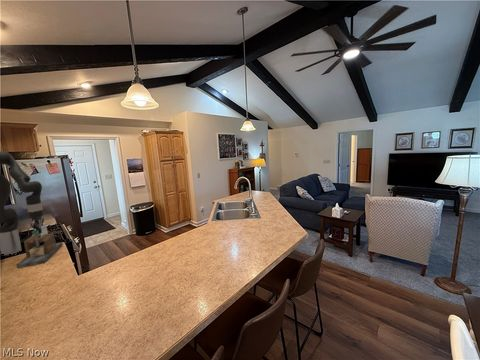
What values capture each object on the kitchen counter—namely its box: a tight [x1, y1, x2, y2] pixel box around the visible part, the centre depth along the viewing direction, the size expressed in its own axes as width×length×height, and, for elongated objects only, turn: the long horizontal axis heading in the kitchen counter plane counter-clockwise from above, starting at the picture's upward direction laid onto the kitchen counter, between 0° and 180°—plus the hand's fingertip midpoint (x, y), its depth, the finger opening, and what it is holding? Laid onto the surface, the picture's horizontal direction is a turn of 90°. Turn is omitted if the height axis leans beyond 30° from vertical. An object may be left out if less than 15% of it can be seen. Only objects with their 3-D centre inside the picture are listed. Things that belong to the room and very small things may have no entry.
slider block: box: [29, 229, 46, 257], centre depth 140 cm, size 7×6×17 cm
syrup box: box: [33, 222, 49, 243], centre depth 170 cm, size 6×6×14 cm
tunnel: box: [16, 232, 64, 269], centre depth 144 cm, size 14×28×14 cm, turn 22°
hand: (39, 233), depth 143 cm, fingers closed
